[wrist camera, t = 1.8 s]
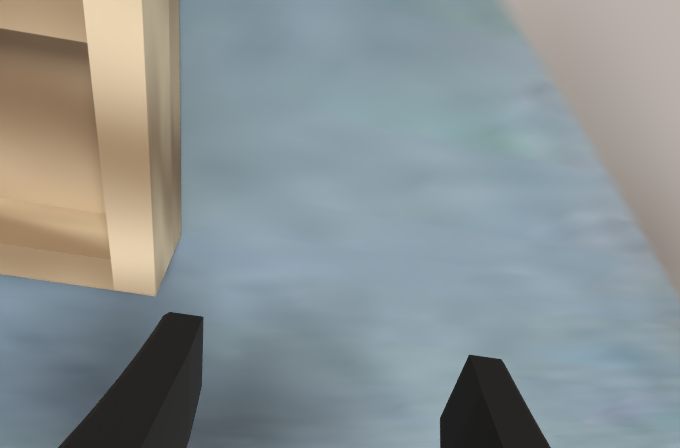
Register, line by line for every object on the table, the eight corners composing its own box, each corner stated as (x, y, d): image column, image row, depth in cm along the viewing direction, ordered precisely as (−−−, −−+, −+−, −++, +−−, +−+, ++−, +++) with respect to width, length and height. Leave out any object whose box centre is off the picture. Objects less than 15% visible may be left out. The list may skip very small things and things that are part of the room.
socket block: (181, 234, 20) (155, 296, 18) (-89, 193, 20) (-153, 251, 17) (179, -41, 15) (141, -5, 12) (-197, -109, 14) (-312, -84, 12)
